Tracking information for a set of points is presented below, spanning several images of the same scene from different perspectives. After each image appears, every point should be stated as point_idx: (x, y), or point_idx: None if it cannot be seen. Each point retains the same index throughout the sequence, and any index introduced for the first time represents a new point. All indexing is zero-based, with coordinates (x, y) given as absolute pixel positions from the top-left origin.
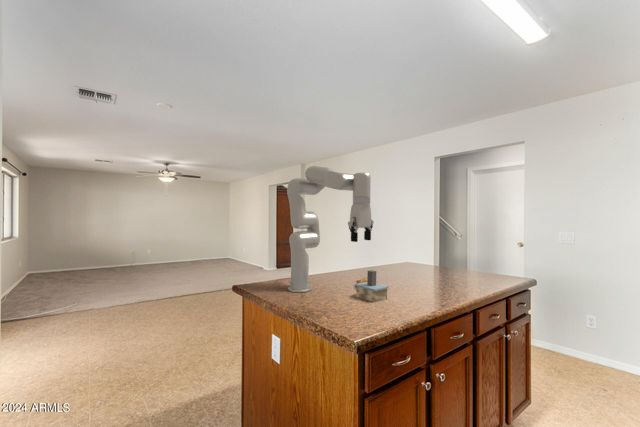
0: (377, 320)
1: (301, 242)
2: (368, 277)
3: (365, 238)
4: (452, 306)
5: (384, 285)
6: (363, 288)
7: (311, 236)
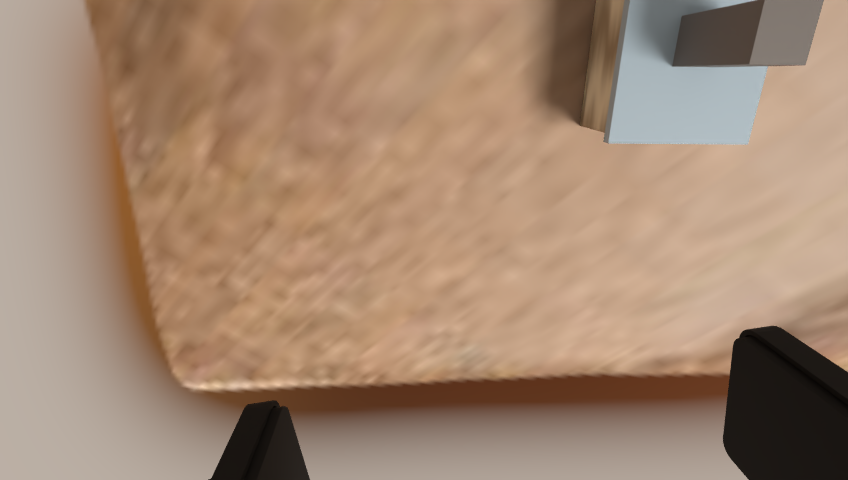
0: (389, 302)
1: None
2: (718, 21)
3: (752, 381)
4: None
5: (753, 107)
6: None
7: None
